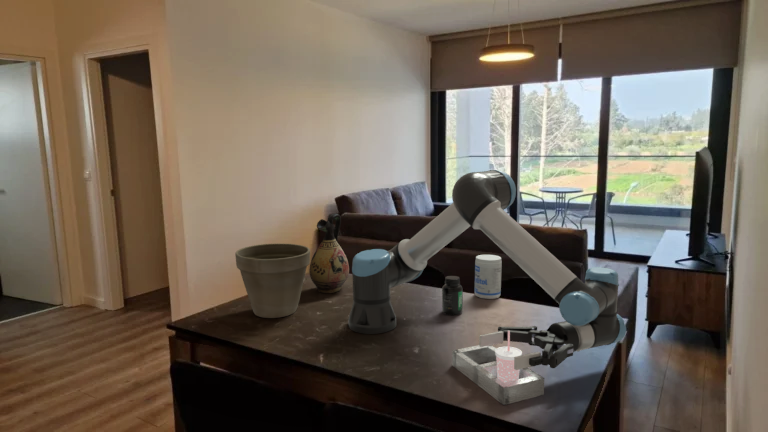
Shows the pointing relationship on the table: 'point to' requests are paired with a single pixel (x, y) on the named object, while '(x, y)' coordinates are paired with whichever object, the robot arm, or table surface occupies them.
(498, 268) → the supplement tub
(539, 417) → the table surface
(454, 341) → the table surface
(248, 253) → the plant pot
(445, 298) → the supplement bottle
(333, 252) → the ceramic jug
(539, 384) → the grey hollow block
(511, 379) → the beverage cup
